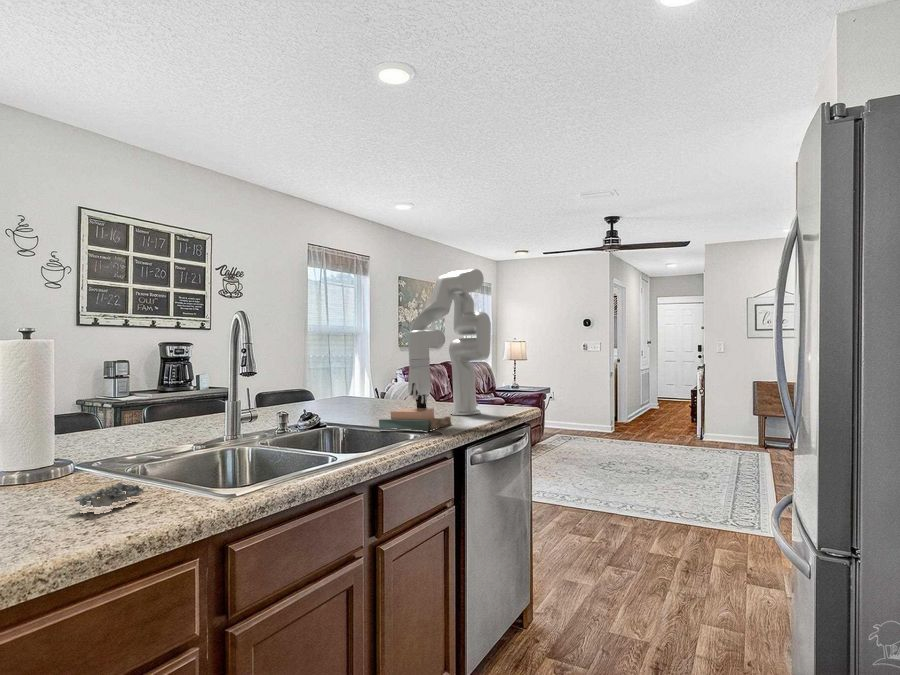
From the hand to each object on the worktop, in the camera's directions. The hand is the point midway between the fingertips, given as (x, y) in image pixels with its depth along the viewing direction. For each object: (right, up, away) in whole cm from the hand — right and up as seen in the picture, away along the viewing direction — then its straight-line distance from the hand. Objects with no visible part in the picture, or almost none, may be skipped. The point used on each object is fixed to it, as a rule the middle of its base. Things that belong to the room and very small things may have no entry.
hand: (421, 413), depth 199 cm
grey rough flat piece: (-57, -6, -92) cm, 108 cm away
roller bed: (-2, -4, -4) cm, 6 cm away
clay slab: (-3, -2, -6) cm, 7 cm away
